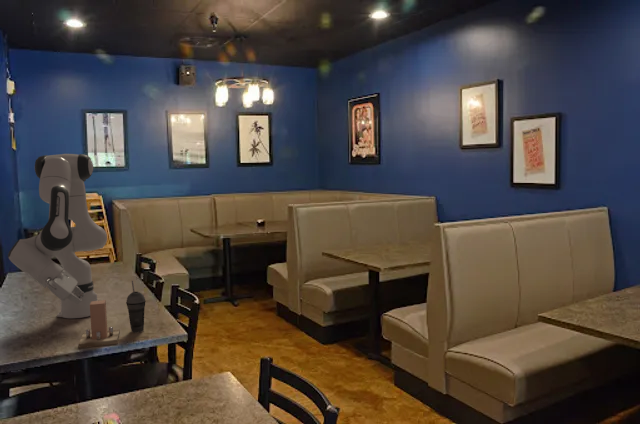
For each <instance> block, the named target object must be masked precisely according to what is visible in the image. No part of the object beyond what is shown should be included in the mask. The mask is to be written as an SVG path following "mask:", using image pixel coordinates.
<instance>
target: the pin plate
mask: <svg viewBox="0 0 640 424" xmlns="http://www.w3.org/2000/svg"><path fill="white" fill-rule="evenodd" d="M120 331H121V330H120V328H119V329H114V327H113V326H109V327H108V335H107V338H101V333H100V331H97V332H96V336H97V339H92V332H91V328H90V329H86V330H85V332H84V333H83V334H82V336H81V338H80V340H79V342H78V349H83V348H92V347H101V346H109V345H110V346H111V345H118V343H119V340H120V334H121V332H120Z"/></svg>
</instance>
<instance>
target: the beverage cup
mask: <svg viewBox="0 0 640 424" xmlns="http://www.w3.org/2000/svg"><path fill="white" fill-rule="evenodd" d="M131 285H132V286H131V287H132V292H131V293H129V295H128V296H127V297H126V300H125V301H126V302H125V304H126V307H127V311H128V318H129V319H128V320H129V323H130V324H129V325H130V331H131V333H137V334H138V333H141V332H144V330H145V307H146V297H145V296H144V294H143V293H142V292H141V291H140V292H139V291H135V285H134V280H131Z"/></svg>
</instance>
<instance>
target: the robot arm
mask: <svg viewBox="0 0 640 424" xmlns="http://www.w3.org/2000/svg"><path fill="white" fill-rule="evenodd" d="M34 162H35V163H34V171H35V172H34V173H35V175H36V177H37V178H38V179H39V184H38V193H39V198H40V199H41V200H42V201H43V202H44V203H47V204H49V207H48V208H49V209H48V211H49V212H48V220H47V222H46V223H45V225H44V226H43V228H42V230H41V231H40V232H39V233H38V235H34V236H31V237H29V238H20V239H18V240H17V241H16V242H15V243H14V244H13V246H12V247H11V249H10V250H9V251H8V253H7V258H8V259H9V261H10V262H11V263H12V264H13V265H15V267H17V269H19V270H20V271H21V272H23V273H25V274H27V275H29V276H30V277H31V278H32V280H34V281H36V282H37V284H39V285H40V286H42V287H43V288H44V289H46V288H47V289H48V290H49V291H50V292H51V293H52V294H54V296H55V297H56V298H58V299H60V311H59V312H58V313H57V314H56V318H57V317H58V318H64V319H81V318H87V317H90V303H91V301H98V293H96V292H95V290H94V281H93V277H92V266H91V264H90V263H89V262H88V260H86V259H82V258H80V257H78V256H77V254H76V253H78V252H92V251H96V250H100V249H101V250H102V249H103V248H104V247H105V246H106V244H107V241H108V234H107V232H106V230H105V229H104V228H103V227H101V226H100V225H98V224H97V223H96V222H95V221H94V220H93V219H92V217H91V215H90V213H89V209H88V204H87V192H86V185H85V182H86V180H89V179H90V177H91V176H92V175H93V172H94V163H93V160H92V159H91V157H90V156H89V155H88V154H84V153H83V154H82V153H79V154H77V153H62V154H51V155H48V154H46V155H41V156H38V157H37V158H36V159H35V161H34ZM69 220H70V221H72V222H73V223H74V224H75V226H71V225H70V222H69ZM53 258H56V259H57V261H59V263H57V262H55V261H53V260H52V259H53Z"/></svg>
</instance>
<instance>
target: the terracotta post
mask: <svg viewBox="0 0 640 424" xmlns="http://www.w3.org/2000/svg"><path fill="white" fill-rule="evenodd" d="M89 317H90V327H91V328H90V333H92V339H97V336H96V332H97V331H100V333H101V338H107V335H108V331H109V329H108V319H107V318H108V316H107V301H106V299H105V300H104V299H103V300H97V301H91V303H90V316H89Z"/></svg>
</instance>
